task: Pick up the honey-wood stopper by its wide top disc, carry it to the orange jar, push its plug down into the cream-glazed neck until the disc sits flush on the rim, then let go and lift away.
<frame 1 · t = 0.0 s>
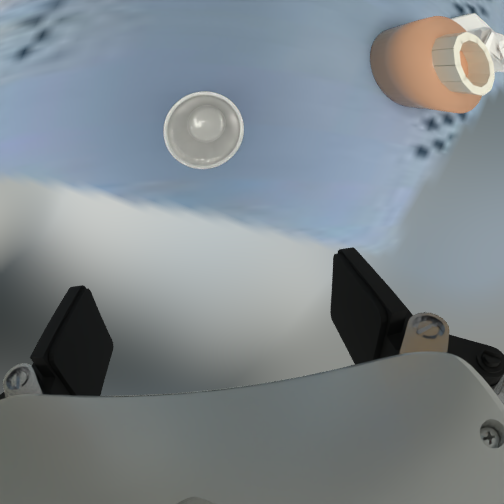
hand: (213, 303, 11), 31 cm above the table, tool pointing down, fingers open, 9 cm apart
orange jar: (406, 66, 35), on the table
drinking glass: (206, 123, 37), on the table
soft serve ice cream: (468, 50, 34), on the table
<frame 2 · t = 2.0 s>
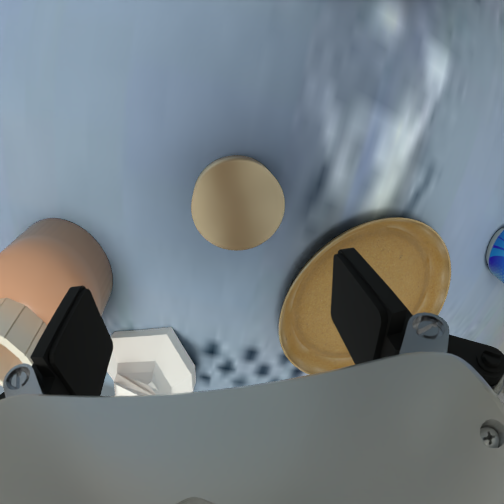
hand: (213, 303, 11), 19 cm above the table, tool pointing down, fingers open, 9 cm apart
orange jar: (62, 271, 30), on the table
stopper: (232, 185, 28), on the table
beer can: (498, 246, 37), on the table
plant saucer: (364, 296, 37), on the table
soft serve ice cream: (152, 361, 38), on the table
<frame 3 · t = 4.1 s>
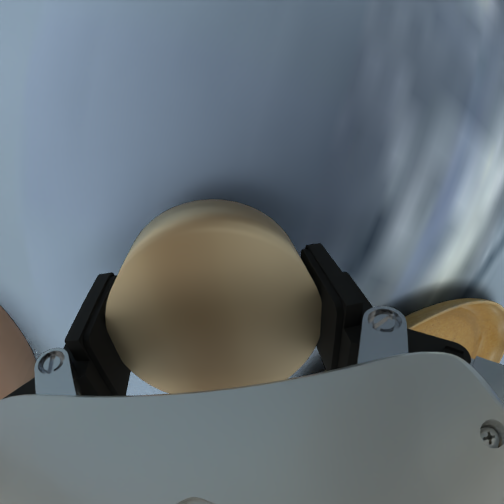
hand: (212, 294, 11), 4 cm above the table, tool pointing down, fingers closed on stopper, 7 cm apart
stopper: (212, 247, 15), on the table, touching gripper
plant saucer: (395, 386, 24), on the table
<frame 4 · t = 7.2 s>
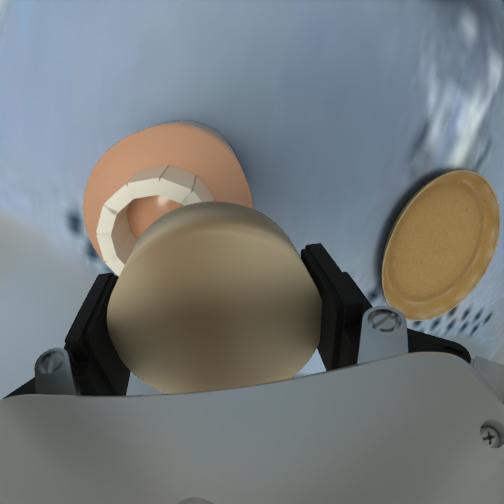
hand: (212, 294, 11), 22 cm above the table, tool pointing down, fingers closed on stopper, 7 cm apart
orange jar: (179, 180, 31), on the table
stopper: (212, 248, 15), point 18 cm above the table, touching gripper
plant saucer: (438, 242, 40), on the table
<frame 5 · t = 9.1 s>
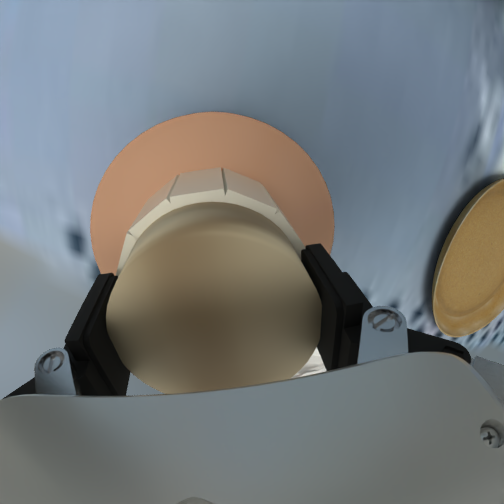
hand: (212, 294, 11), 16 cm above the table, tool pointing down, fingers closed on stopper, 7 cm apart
orange jar: (211, 188, 25), on the table
stopper: (212, 248, 15), point 12 cm above the table, touching gripper, orange jar
plant saucer: (482, 253, 34), on the table
soft serve ice cream: (288, 321, 33), on the table
when the fingers open (16 cm above the table, at t = 10.3 s): stopper stays where it is, resting on orange jar.
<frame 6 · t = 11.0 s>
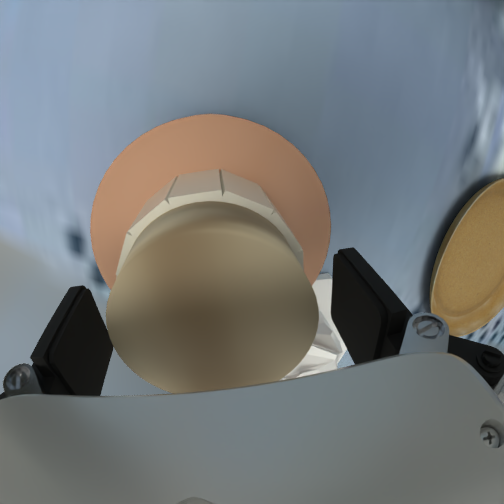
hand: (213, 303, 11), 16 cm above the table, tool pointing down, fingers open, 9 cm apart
orange jar: (209, 189, 26), on the table
stopper: (210, 248, 15), point 11 cm above the table, touching orange jar
plant saucer: (479, 253, 34), on the table
soft serve ice cream: (286, 321, 33), on the table
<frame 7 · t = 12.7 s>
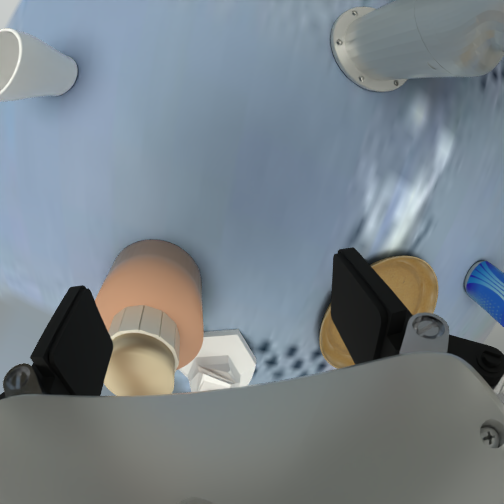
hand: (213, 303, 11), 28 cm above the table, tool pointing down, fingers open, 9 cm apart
orange jar: (155, 283, 41), on the table
stopper: (144, 337, 31), point 11 cm above the table, touching orange jar
beer can: (474, 275, 52), on the table
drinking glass: (61, 76, 27), on the table
plant saucer: (376, 309, 50), on the table
soft serve ice cream: (214, 357, 49), on the table
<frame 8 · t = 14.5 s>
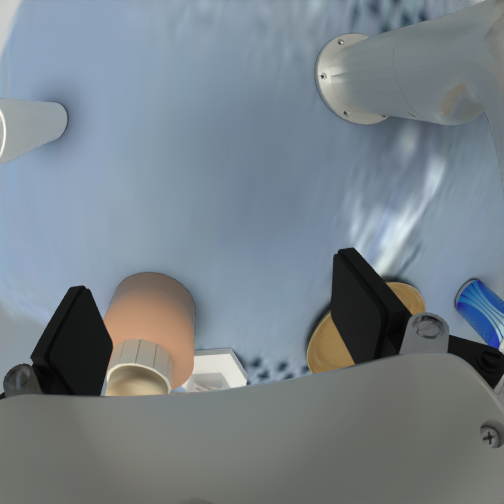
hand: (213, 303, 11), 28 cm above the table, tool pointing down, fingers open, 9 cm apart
orange jar: (153, 309, 44), on the table
stopper: (142, 364, 34), point 11 cm above the table, touching orange jar
beer can: (466, 293, 53), on the table
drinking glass: (53, 121, 30), on the table
plant saucer: (363, 328, 53), on the table
soft serve ice cream: (210, 371, 52), on the table
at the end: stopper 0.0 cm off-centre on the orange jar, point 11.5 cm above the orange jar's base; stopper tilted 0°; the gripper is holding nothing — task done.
